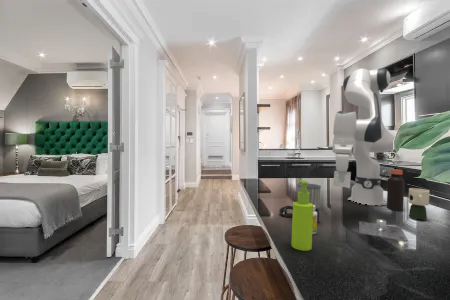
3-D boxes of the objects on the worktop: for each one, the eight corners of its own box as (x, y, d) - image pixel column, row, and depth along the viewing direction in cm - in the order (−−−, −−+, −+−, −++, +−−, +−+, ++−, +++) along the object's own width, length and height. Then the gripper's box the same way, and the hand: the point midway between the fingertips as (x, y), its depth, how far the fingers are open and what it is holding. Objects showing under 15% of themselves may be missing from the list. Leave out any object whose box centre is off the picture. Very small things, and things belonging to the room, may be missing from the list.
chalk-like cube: (334, 183, 109) (335, 170, 109) (350, 185, 106) (350, 172, 106) (333, 185, 104) (334, 172, 103) (349, 187, 101) (350, 173, 100)
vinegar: (406, 211, 120) (408, 170, 119) (392, 210, 120) (394, 170, 119) (396, 207, 127) (398, 169, 126) (383, 207, 127) (385, 168, 126)
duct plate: (359, 222, 100) (359, 212, 100) (400, 229, 93) (401, 218, 93) (359, 233, 88) (360, 221, 87) (407, 241, 81) (408, 229, 81)
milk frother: (321, 226, 94) (323, 187, 94) (279, 222, 97) (281, 185, 97) (315, 215, 108) (317, 182, 107) (279, 212, 111) (280, 179, 111)
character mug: (405, 214, 114) (407, 186, 114) (425, 217, 110) (427, 188, 110) (409, 220, 105) (410, 190, 104) (430, 223, 101) (432, 192, 101)
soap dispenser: (306, 241, 78) (308, 179, 78) (314, 251, 72) (317, 182, 71) (288, 241, 78) (290, 178, 78) (294, 250, 71) (297, 182, 71)
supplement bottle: (317, 231, 88) (319, 204, 88) (315, 235, 84) (316, 207, 83) (302, 228, 91) (303, 202, 91) (299, 232, 86) (300, 205, 86)
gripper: (337, 147, 115) (335, 176, 115) (333, 148, 97) (332, 183, 97) (352, 148, 112) (350, 178, 112) (351, 149, 94) (349, 185, 94)
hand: (342, 180), depth 105 cm, fingers closed on chalk-like cube, 6 cm apart
